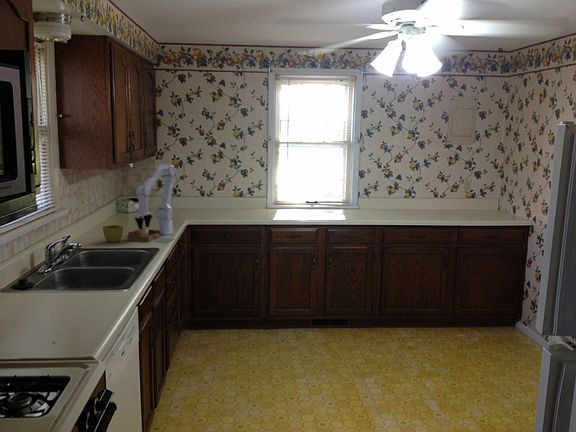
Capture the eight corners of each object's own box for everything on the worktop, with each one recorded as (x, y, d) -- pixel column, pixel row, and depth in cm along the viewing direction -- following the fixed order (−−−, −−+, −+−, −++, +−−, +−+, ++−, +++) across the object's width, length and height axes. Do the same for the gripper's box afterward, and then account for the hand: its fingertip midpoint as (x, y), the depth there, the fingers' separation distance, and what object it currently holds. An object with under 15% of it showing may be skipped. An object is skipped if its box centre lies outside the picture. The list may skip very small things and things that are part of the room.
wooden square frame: (140, 235, 355) (140, 228, 354) (160, 237, 351) (160, 230, 350) (127, 240, 341) (127, 232, 341) (148, 241, 337) (148, 234, 336)
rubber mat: (163, 238, 349) (163, 238, 349) (175, 239, 346) (175, 239, 346) (153, 241, 337) (153, 241, 337) (165, 243, 335) (165, 242, 335)
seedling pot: (142, 237, 349) (142, 228, 348) (150, 238, 348) (149, 228, 347) (138, 239, 344) (138, 229, 343) (145, 239, 343) (145, 230, 342)
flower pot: (115, 239, 344) (115, 224, 342) (124, 241, 338) (123, 226, 337) (102, 241, 337) (102, 226, 335) (111, 243, 331) (110, 228, 330)
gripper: (144, 203, 351) (144, 225, 353) (130, 207, 337) (131, 229, 339) (154, 204, 348) (154, 226, 351) (141, 207, 335) (141, 230, 337)
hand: (143, 227), depth 345 cm, fingers open, 7 cm apart
